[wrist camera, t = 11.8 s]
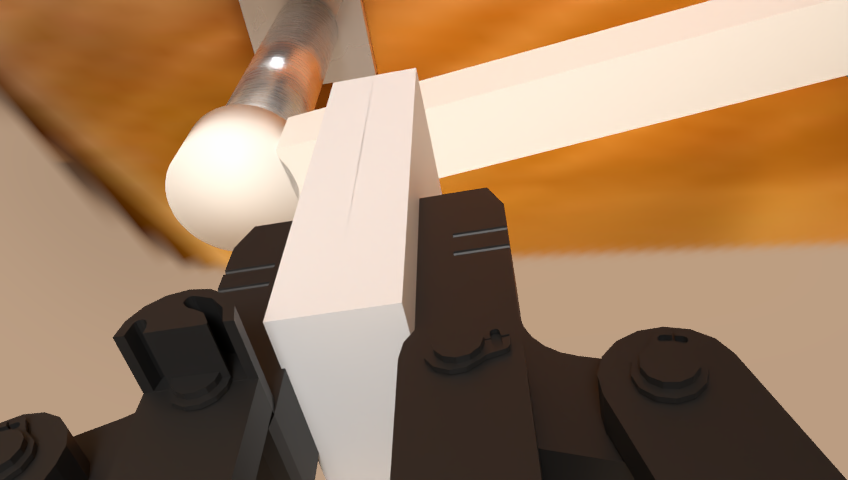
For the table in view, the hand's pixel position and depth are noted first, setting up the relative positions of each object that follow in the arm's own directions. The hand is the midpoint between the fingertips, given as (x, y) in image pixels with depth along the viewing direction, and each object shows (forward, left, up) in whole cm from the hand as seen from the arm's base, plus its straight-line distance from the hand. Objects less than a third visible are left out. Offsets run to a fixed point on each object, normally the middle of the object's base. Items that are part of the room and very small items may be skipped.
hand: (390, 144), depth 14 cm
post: (+5, -7, -26) cm, 27 cm away
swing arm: (+4, +3, -11) cm, 13 cm away
